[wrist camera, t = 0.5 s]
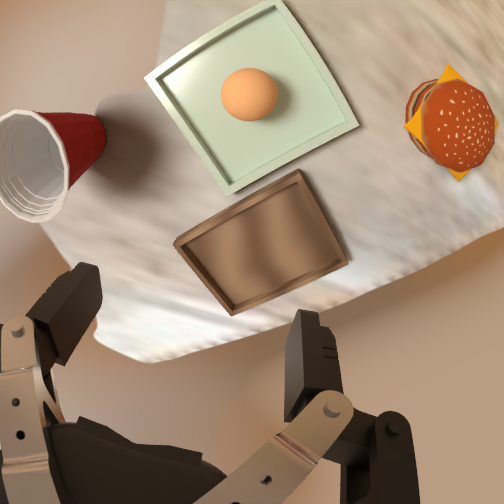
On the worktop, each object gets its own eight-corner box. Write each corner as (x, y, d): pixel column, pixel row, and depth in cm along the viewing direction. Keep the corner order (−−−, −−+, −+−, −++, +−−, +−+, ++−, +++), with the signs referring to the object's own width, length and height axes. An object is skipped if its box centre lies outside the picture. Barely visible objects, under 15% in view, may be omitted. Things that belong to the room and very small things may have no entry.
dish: (277, -1, 22) (277, -6, 20) (354, 123, 28) (359, 125, 26) (151, 78, 27) (144, 77, 25) (229, 190, 33) (226, 196, 31)
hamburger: (387, 127, 28) (412, 137, 22) (430, 61, 23) (462, 58, 18) (444, 177, 30) (474, 198, 24) (484, 116, 25) (518, 127, 19)
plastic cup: (72, 194, 34) (13, 239, 24) (43, 119, 29) (-26, 143, 18) (140, 165, 32) (83, 206, 21) (109, 78, 27) (38, 84, 16)
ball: (259, 60, 25) (257, 54, 21) (287, 102, 27) (289, 105, 23) (215, 87, 27) (204, 86, 22) (243, 127, 29) (237, 135, 24)
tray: (298, 168, 31) (299, 173, 29) (345, 256, 36) (348, 264, 34) (176, 237, 36) (172, 244, 34) (232, 307, 41) (231, 316, 39)
